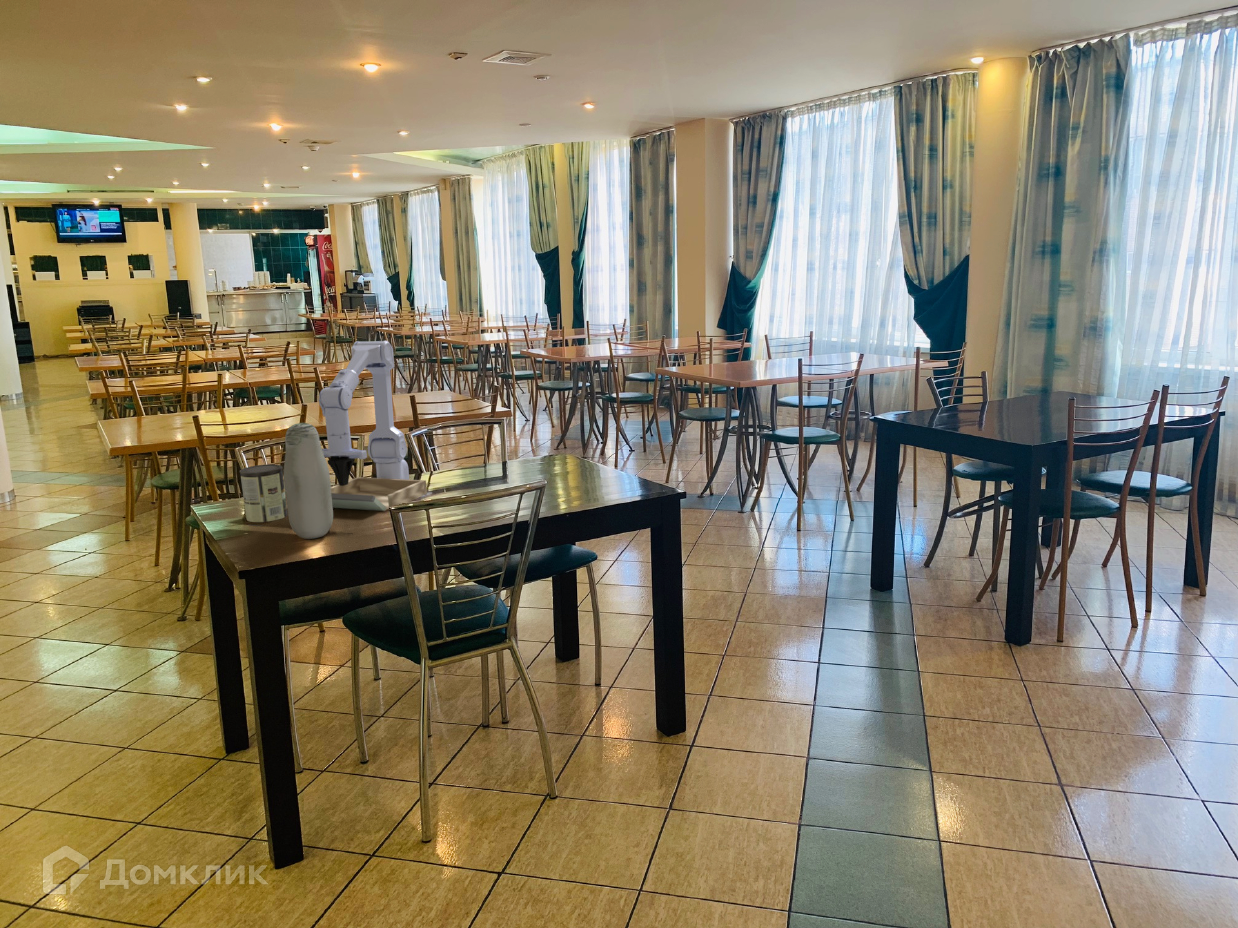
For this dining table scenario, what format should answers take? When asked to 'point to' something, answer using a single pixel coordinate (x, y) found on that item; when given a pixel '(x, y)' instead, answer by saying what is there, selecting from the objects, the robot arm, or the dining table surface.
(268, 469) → the coffee can
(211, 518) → the dining table surface
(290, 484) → the white bottle
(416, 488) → the cart bed
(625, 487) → the dining table surface
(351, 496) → the panel
